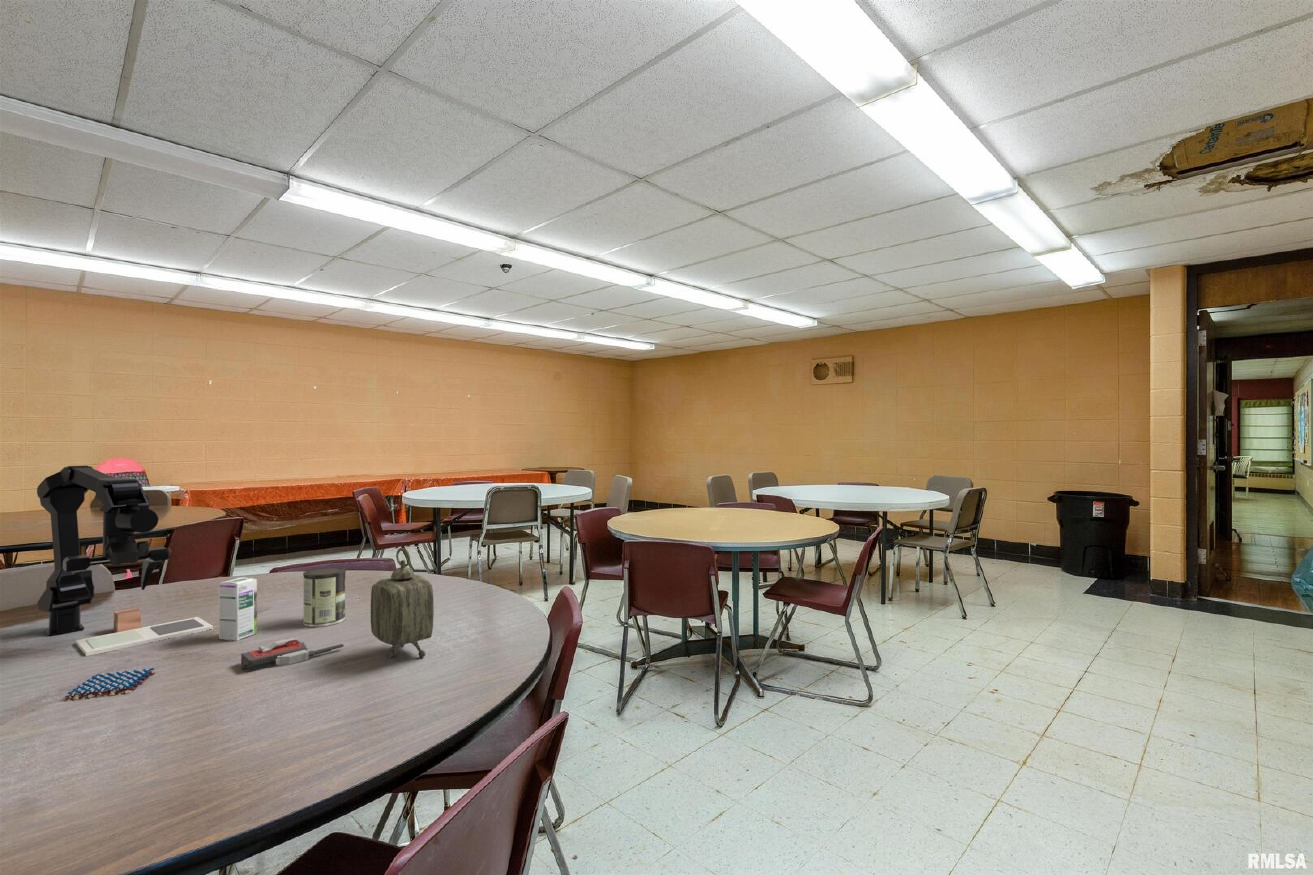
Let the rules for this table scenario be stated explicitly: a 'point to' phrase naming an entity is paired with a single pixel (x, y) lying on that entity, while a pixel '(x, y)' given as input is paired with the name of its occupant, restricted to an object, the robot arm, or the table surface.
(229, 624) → the syrup box
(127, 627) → the terracotta block
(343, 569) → the coffee can
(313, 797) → the table surface
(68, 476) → the robot arm
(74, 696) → the woven mat
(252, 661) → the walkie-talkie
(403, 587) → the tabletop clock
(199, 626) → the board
